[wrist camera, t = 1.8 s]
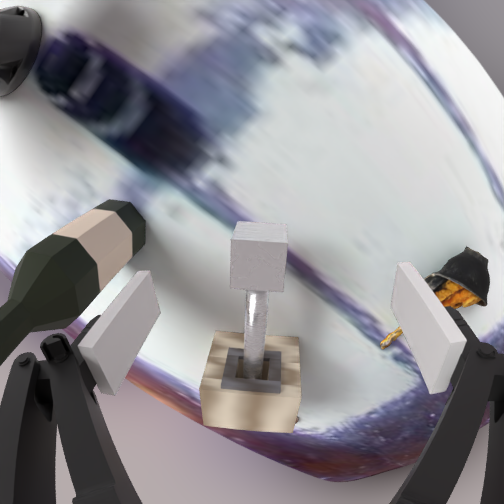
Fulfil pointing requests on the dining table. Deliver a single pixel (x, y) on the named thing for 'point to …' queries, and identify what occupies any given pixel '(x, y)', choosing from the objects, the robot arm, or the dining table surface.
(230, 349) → the eye block
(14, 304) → the wine bottle
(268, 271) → the pull pin
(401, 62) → the dining table surface
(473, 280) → the fried shrimp in bowl
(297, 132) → the dining table surface
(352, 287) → the dining table surface
